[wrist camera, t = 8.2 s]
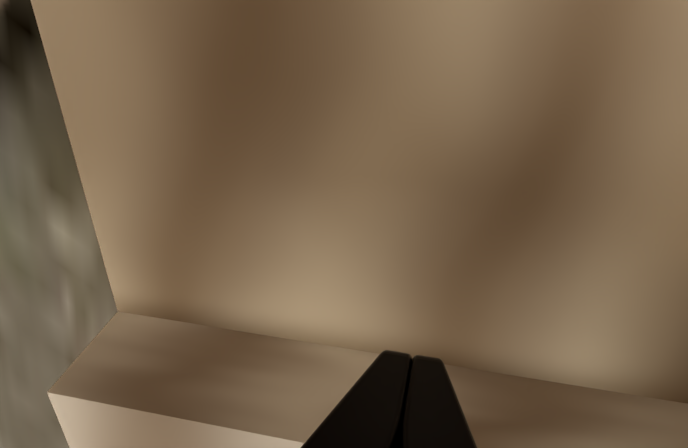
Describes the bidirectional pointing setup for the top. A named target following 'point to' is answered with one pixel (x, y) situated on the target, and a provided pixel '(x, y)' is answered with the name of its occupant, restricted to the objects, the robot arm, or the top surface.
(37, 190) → the top surface
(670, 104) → the wooden base tray
